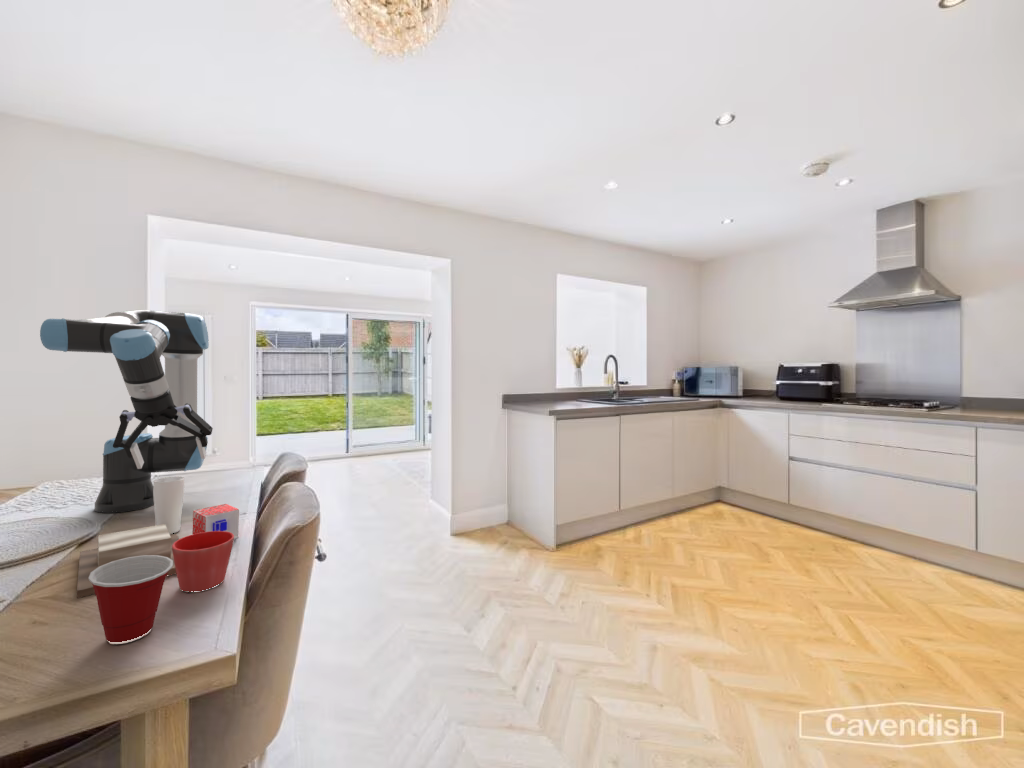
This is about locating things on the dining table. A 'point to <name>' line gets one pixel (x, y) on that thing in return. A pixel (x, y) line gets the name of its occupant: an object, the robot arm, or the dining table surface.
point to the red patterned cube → (216, 519)
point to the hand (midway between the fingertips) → (173, 460)
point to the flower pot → (202, 559)
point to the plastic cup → (129, 594)
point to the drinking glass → (169, 502)
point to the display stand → (124, 551)
